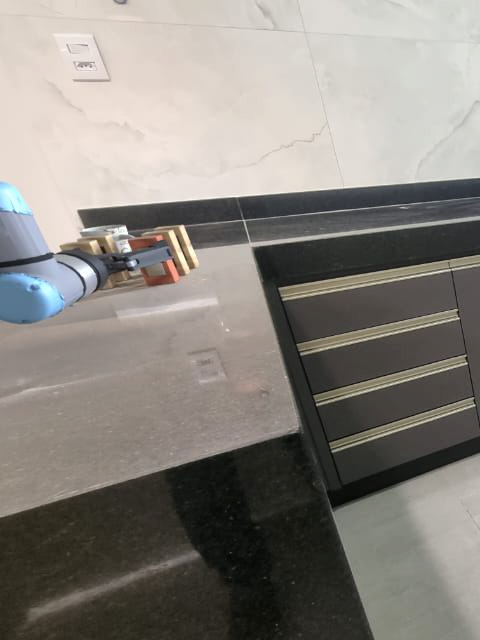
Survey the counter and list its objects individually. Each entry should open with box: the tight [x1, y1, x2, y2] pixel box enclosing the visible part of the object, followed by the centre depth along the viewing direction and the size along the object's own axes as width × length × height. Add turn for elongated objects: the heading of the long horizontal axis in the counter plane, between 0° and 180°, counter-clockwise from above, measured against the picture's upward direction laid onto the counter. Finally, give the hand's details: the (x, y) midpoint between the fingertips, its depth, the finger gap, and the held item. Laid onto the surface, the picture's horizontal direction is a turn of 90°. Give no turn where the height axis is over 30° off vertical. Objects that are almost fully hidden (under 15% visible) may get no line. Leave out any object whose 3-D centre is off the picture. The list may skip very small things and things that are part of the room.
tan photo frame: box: [59, 234, 132, 291], centre depth 116 cm, size 5×10×10 cm, turn 23°
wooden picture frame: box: [140, 224, 200, 277], centre depth 124 cm, size 5×10×10 cm, turn 23°
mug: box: [78, 224, 135, 254], centre depth 130 cm, size 8×13×10 cm, turn 88°
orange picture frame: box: [127, 235, 181, 287], centre depth 115 cm, size 5×3×10 cm, turn 113°
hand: (124, 250), depth 105 cm, fingers open, 13 cm apart
